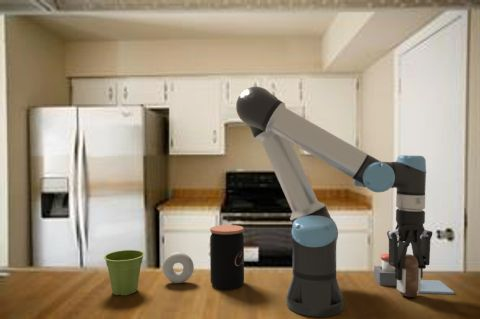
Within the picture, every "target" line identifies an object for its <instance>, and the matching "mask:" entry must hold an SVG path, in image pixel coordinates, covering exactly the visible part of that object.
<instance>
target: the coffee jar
mask: <svg viewBox="0 0 480 319" xmlns="http://www.w3.org/2000/svg"><path fill="white" fill-rule="evenodd" d="M209 230H210V231H209V232H210V233H211V235H210V237H209V238H210V239H209V243H210V244H209V246H210V247H209V256H210V257H209V258H210V260H209V261H210V269H209V270H210V271H209V272H210V283H211V286H212V287H213V286H214V287H213V288H215V287H216V288H215V289H217V288H218V290H221V289H222V291H231V289H232V290H236V288H237V289H238V288H239V289H240V288H241V287H242V286H243V284H244V282H245V238H244V237H245V236H244V234H243V232H244V226H241V225H235V224H223V225H222V224H220V225H214V226H212V227H209Z"/></svg>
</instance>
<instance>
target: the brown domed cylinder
mask: <svg viewBox="0 0 480 319" xmlns="http://www.w3.org/2000/svg"><path fill="white" fill-rule="evenodd" d="M403 269H405V270H406V285H405V293H403V292H401V291H399V293H400V294H401V295H402V296H404V297H408V298H417V296H418V292H417V269H418V260H417V259H416V257H415V256H413V254H409V253H406V257H405V262H404V267H403Z"/></svg>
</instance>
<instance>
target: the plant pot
mask: <svg viewBox="0 0 480 319" xmlns="http://www.w3.org/2000/svg"><path fill="white" fill-rule="evenodd" d="M145 255H146V254H145V252H144V251H143V250H137V249H123V250H116V251H111V252H109V253H106V254H105V255H104V256H103V260H105V263H106V267H107V270H108V271H107V272H108V275H109V281H110V286H111V292H112V294H113V295H115V296H120V295H121V296H124V295H125V296H129V295H133V294H134V293H136V292H137V291H138V286H139V280H140V275H141V274H140V273H141V269H142V268H141V266H142V263H143V259H144V256H145ZM132 293H133V294H132Z"/></svg>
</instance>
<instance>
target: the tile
mask: <svg viewBox="0 0 480 319" xmlns="http://www.w3.org/2000/svg"><path fill="white" fill-rule="evenodd" d="M417 294H438V295H455V291H454V290H452V289H451V288H450V287H449V286H447V285H446V284H445V283H444V282H442V281H441V280H431V279H430V280H429V279H421V290H420V291H419V292H418V291H417Z"/></svg>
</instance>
